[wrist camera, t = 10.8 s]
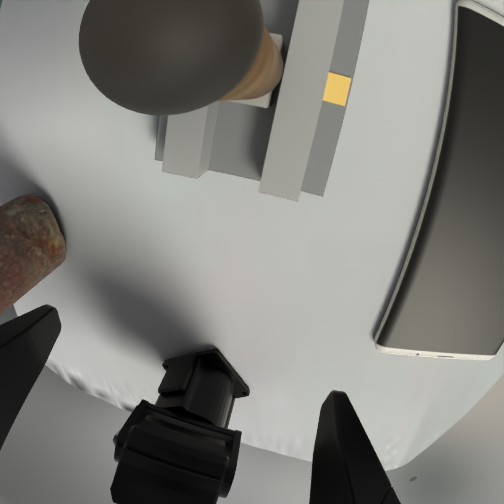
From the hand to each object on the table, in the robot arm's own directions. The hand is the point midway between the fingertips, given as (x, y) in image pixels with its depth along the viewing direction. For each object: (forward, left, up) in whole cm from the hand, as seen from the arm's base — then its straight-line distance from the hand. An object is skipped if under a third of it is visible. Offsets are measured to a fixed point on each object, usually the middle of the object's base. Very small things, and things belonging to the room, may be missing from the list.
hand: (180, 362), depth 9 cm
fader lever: (+7, -4, -11) cm, 14 cm away
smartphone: (-7, -17, -14) cm, 23 cm away
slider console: (+9, -6, -13) cm, 17 cm away
